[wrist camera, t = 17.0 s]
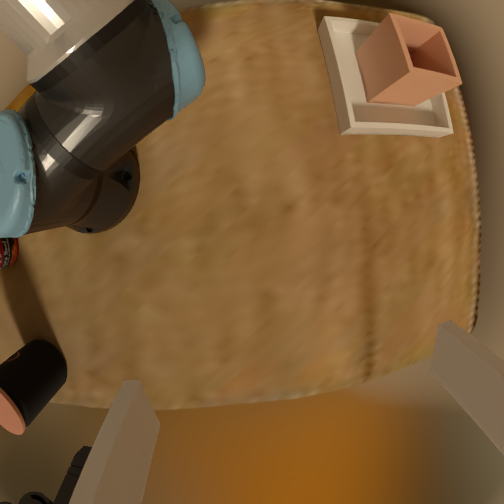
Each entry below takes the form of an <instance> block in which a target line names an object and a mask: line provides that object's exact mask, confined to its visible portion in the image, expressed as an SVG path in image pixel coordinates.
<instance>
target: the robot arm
mask: <svg viewBox="0 0 504 504" xmlns="http://www.w3.org/2000/svg"><path fill="white" fill-rule="evenodd" d="M0 29H1V30H2V31H3V32H4V33H5V34H6V35H7V36H8V37H9V38H10V39H11V40H12V41H13V42H14V43H15V44H16V45H17V46H18V47H19V48H20V49H21V50H23V52H24V53H25V54H27V59H28V65H27V82H28V83H29V84H30V85H31V86H32V87H33V88H35V89H36V92H35V93H34V94H33V95H32V96H31V97H30V98H29V99H28V100H27V102H26V103H25V104H24V105H23V106H22V107H21V109H20V110H19V111H18V112H16V111H14V110H11V109H8V110H5V111H1V112H0V238H8V237H13V238H18V237H21V236H23V235H24V234H29V233H34V232H39V231H43V230H48V229H53V228H58V227H64V226H66V227H68V228H70V229H73V230H75V231H77V232H81V233H87V234H92V233H98V232H102V231H106V230H109V229H111V228H113V227H115V226H116V225H118V224H119V223H120V222H121V221H122V220H123V219H124V218H125V217H126V216H127V215H128V213H129V212H130V210H131V209H132V207H133V205H134V203H135V200H136V197H137V194H138V190H139V183H140V174H139V167H138V163H137V160H136V157H135V155H134V153H133V151H132V150H131V148H132V147H133V146H135V145H136V144H137V143H138V142H139V141H141V140H142V139H143V138H144V137H146V136H147V135H148V134H149V133H151V132H152V131H153V130H155V129H156V128H157V127H158V126H160V125H161V124H162V123H164V122H165V121H166V120H172V119H173V118H175V116H176V115H177V113H178V112H179V111H180V110H182V109H183V108H184V107H186V106H187V105H188V104H190V103H191V102H192V101H194V100H195V99H196V98H198V96H199V95H200V94H201V92H202V90H203V87H204V85H205V68H204V64H203V60H202V57H201V54H200V51H199V48H198V46H197V44H196V41H195V39H194V37H193V34H192V33H191V31H190V29H189V27H188V25H187V24H186V23H185V22H183V21H182V18H181V15H180V13H179V11H178V10H177V9H176V7H175V6H174V5H173V4H172V3H171V2H170V1H169V0H0ZM430 373H431V374H432V375H433V376H434V377H435V378H436V379H437V380H438V381H439V382H440V383H441V384H442V386H443V387H444V388H446V390H447V391H448V392H449V393H450V394H451V395H452V396H453V398H454V399H455V400H456V401H457V402H458V403H459V404H460V405H461V406H462V408H463V409H465V411H466V412H467V413H468V414H469V415H470V417H471V418H472V419H473V420H474V421H475V422H476V423H477V425H478V426H479V427H480V428H481V429H482V430H483V432H484V433H485V434H486V435H487V436H488V437H489V438H490V440H491V441H492V442H493V443H494V444H495V446H496V447H497V448H498V449H499V451H500V452H501V453H502V454H503V455H504V360H503V359H501V358H500V357H499V356H497V355H496V354H495V353H494V352H492V351H491V350H490V349H488V348H487V347H486V346H484V345H483V344H482V343H481V342H479V341H478V340H477V339H475V338H474V337H473V336H471V335H470V334H469V333H467V332H466V331H464V330H463V329H462V328H460V327H459V326H458V325H456V324H455V323H453V322H452V321H451V320H449V321H446V322H444V323H441V324H438V330H437V337H436V342H435V348H434V353H433V358H432V363H431V368H430ZM159 427H160V423H159V421H158V419H157V417H156V414H155V412H154V410H153V408H152V406H151V404H150V402H149V400H148V397H147V395H146V393H145V391H144V388H143V386H142V384H141V381H140V380H124V381H123V383H122V385H121V387H120V389H119V391H118V393H117V395H116V397H115V400H114V402H113V404H112V406H111V408H110V410H109V412H108V414H107V416H106V419H105V420H104V423H103V425H102V427H101V429H100V432H99V433H98V436H97V438H96V440H95V442H94V445H93V447H88V446H83V447H82V448H81V449H80V450H79V451H78V452H77V453H76V454H75V456H74V458H73V461H72V463H71V467H69V469H68V472H67V475H66V476H65V478H64V480H63V483H62V485H61V487H60V489H59V491H58V494H57V496H56V498H55V501H54V503H53V502H51V501H50V500H49V499H48V498H47V497H46V496H45V495H43V494H42V493H39V492H29V493H27V494H25V495H24V496H23V497H22V498H21V499H20V502H19V504H141V502H142V497H143V493H144V489H145V485H146V480H147V476H148V472H149V467H150V463H151V459H152V455H153V451H154V447H155V443H156V439H157V435H158V431H159ZM0 504H11V503H10V502H0Z"/></svg>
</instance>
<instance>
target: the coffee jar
mask: <svg viewBox="0 0 504 504" xmlns="http://www.w3.org/2000/svg"><path fill="white" fill-rule="evenodd" d="M66 378H67V368H66V364H65V361H64V359H63V358H62V356H61V354H60V353H59V352H58V351H57V349H56V348H55V347H53V346H52V345H51V344H50V343H48V342H45V341H42V340H33V341H30V342H29V343H28V344H26V345H25V346H24V347H22V348H21V349H20V350H18V351H17V352H16V353H15V354H13V355H12V356H11V357H9V358H8V359H7V360H6V361H4V362H3V363H2V364H1V365H0V424H1V425H2V426H3V427H4V428H5V429H7V430H8V431H10V432H11V433H14V434H17V435H21V434H22V433H23V432H24V430H25V427H27V426H28V425H30V423H31V422H32V421H33V420H34V419H35V417H36V416H37V415H38V414H39V413H40V411H41V410H42V409H43V408H44V407H45V406H46V404H47V403H48V402H49V401H50V400H51V398H52V397H53V396H54V395H55V394H56V393H57V391H58V390H59V389H60V388H61V387H62V386H63V385H64V383H65V382H66Z"/></svg>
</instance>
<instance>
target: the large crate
mask: <svg viewBox="0 0 504 504" xmlns="http://www.w3.org/2000/svg"><path fill="white" fill-rule="evenodd" d="M379 24H380V23H377V22H371V21H364V20H358V19H350V18H341V17H330V16H324V17H323V19H322V21H321V23H320V26H319V28H318V30H317V31H318V34H319V38H320V42H321V45H322V49H323V53H324V57H325V62H326V66H327V70H328V74H329V79H330V84H331V88H332V93H333V98H334V103H335V109H336V114H337V119H338V125H339V131H340V134H383V135H409V136H426V137H442V136H445V135H449V134H453V128H452V123H451V118H450V114H449V109H448V105H447V101H446V97H445V93H444V92H443V93H441V94H439V95H437V96H435V97H433V98H431V99H429V100H426V101H424V102H422V103H420V104H418V105H416V106H414V107H413V106H403V105H393V104H380V103H367V101H366V96H365V92H364V87H363V83H362V79H361V75H360V71H359V67H358V63H357V60H356V56H355V53H356V51H357V50H358V49H359V48H360V46H361V45H362V44H363V43H364V42H365V40H366V39H367V38H368V37H369V36H370V34H371V33H372V32H373V31H374V30H375V29H376V27H377V26H378V25H379Z"/></svg>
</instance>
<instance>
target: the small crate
mask: <svg viewBox="0 0 504 504" xmlns="http://www.w3.org/2000/svg"><path fill="white" fill-rule="evenodd" d="M355 56H356V60H357V63H358V67H359V71H360V75H361V79H362V83H363V87H364V92H365V96H366V101H367V103H380V104H393V105H403V106H413V107H414V106H416V105H418V104H420V103H422V102H424V101H426V100H429V99H431V98H433V97H435V96H437V95H439V94H441V93H443V92H445V91H448V90H450V89H452V88H454V87H456V86H458V85H461V84H462V82H461V78H460V75H459V72H458V68H457V65H456V62H455V60H454V57H453V54H452V51H451V48H450V46H449V43H448V41H447V38H446V36H445V33H444V31H443V29H442V28H441V27H438V26H435V25H432V24H429V23H426V22H422V21H419V20H416V19H412V18H408V17H404V16H400V15H396V14H392V13H388V14H387V16H386V17H385V18H384V19H383V20H382V21H381V23H380V24H379V25H378V26H377V27H376V29H375V30H374V31H373V32H372V33H371V34H370V36H369V37H368V38H367V39H366V40H365V42H364V43H363V44H362V45H361V46H360V48H359V49H358V50H357V51H356V53H355Z"/></svg>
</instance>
